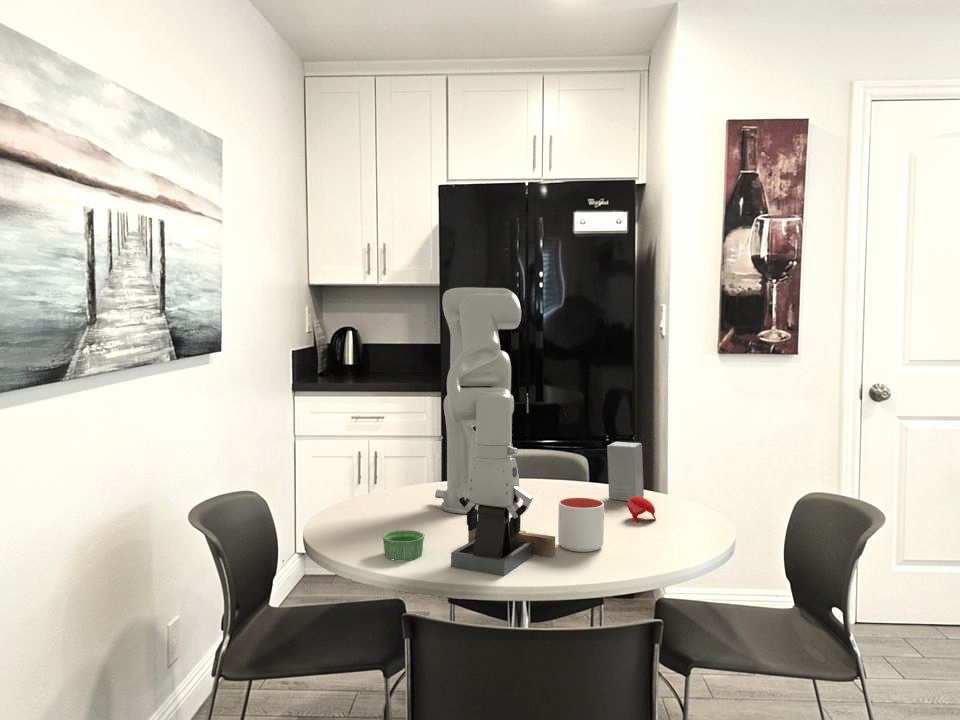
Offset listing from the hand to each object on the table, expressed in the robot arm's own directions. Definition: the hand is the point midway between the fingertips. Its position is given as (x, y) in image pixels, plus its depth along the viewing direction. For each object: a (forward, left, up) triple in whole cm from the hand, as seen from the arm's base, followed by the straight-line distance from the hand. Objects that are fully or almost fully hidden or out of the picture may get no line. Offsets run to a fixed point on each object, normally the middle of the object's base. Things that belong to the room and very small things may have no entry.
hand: (493, 532), depth 166 cm
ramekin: (-19, -5, -6) cm, 21 cm away
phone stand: (0, 0, -6) cm, 6 cm away
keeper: (0, 0, -6) cm, 6 cm away
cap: (+19, +47, -6) cm, 51 cm away
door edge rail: (0, +9, -6) cm, 11 cm away
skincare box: (+9, +67, -6) cm, 68 cm away
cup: (+13, +18, -6) cm, 23 cm away
